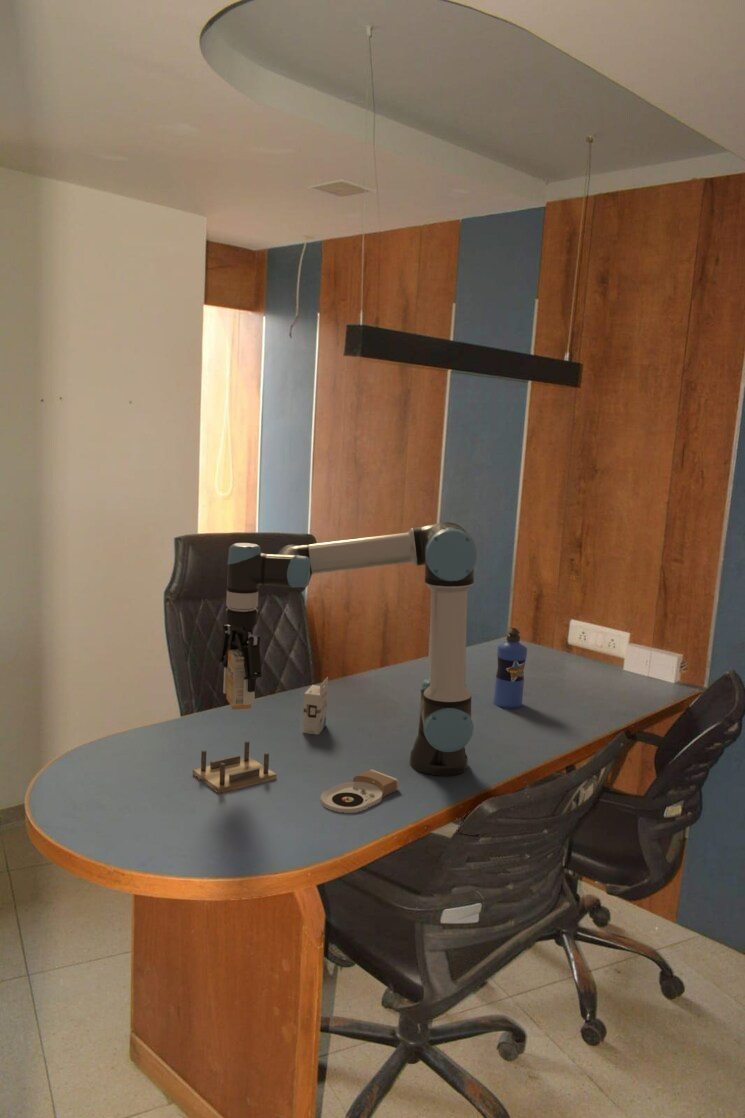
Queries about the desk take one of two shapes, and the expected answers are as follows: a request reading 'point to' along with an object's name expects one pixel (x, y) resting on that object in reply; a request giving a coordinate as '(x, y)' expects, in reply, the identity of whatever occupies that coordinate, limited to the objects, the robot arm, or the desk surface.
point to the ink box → (315, 708)
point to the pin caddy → (234, 771)
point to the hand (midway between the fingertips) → (238, 698)
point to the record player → (359, 792)
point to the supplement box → (236, 680)
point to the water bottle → (510, 672)
